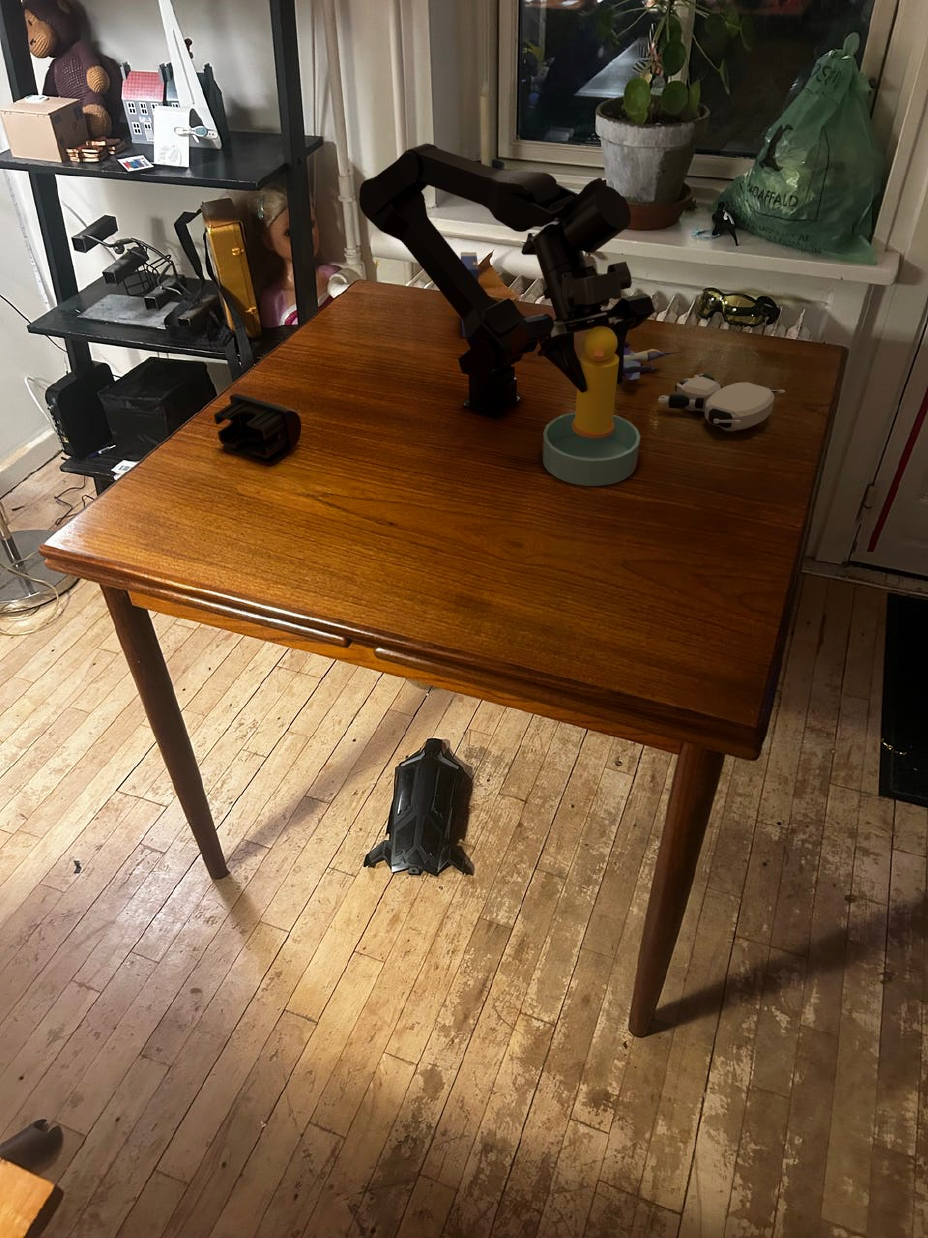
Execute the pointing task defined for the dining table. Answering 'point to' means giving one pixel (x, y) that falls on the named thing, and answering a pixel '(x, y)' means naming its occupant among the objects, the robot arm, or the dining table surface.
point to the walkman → (470, 269)
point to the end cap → (258, 429)
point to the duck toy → (597, 384)
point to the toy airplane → (639, 362)
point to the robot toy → (723, 401)
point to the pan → (590, 452)
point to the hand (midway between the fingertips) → (602, 387)
